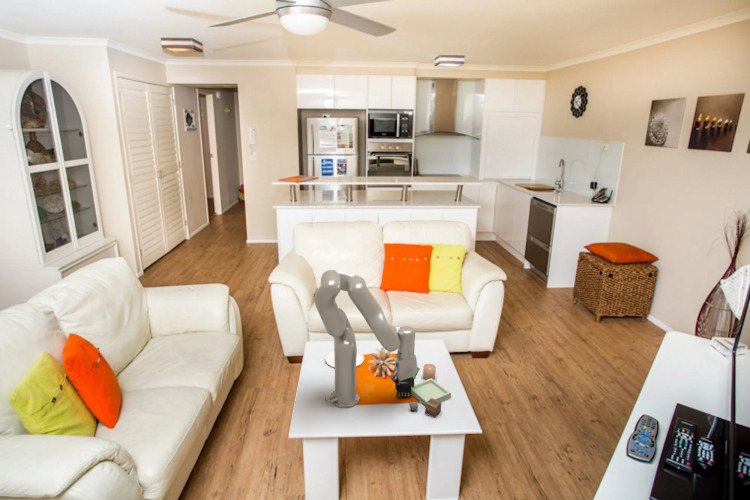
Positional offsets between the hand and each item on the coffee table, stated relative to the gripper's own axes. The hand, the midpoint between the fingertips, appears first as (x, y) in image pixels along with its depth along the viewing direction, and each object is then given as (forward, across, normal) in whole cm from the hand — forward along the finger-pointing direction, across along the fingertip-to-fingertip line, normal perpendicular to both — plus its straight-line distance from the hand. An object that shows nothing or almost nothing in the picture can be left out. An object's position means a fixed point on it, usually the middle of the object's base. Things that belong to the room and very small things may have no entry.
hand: (404, 388), depth 203 cm
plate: (+5, -7, +43) cm, 44 cm away
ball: (+4, -2, -10) cm, 11 cm away
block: (+5, +4, -16) cm, 17 cm away
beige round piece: (+5, +20, +6) cm, 21 cm away
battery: (+5, 0, 0) cm, 5 cm away
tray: (+5, +11, -5) cm, 13 cm away
